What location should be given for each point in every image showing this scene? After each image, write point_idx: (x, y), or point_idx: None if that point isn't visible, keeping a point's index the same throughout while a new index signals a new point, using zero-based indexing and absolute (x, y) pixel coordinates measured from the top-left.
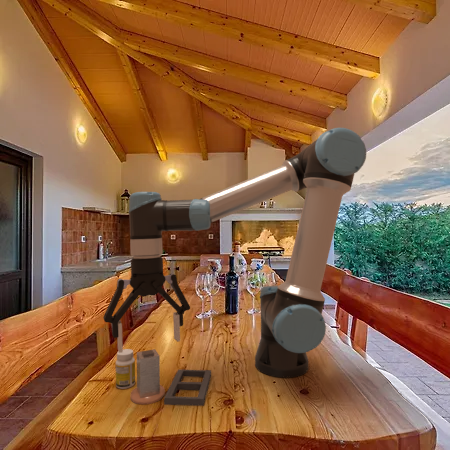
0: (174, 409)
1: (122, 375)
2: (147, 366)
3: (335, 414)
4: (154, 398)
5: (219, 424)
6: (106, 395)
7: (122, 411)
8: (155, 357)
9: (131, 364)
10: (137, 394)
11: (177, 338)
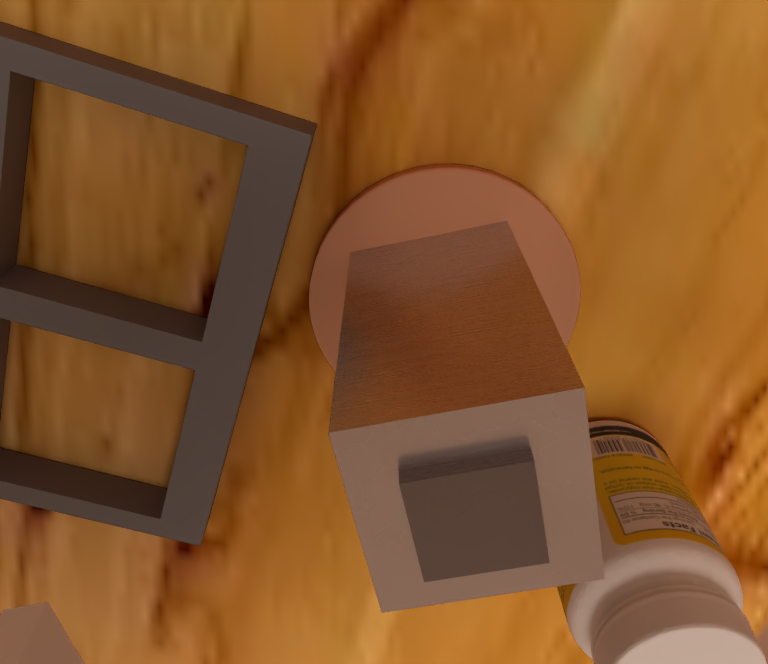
0: (231, 25)
1: (656, 482)
2: (475, 347)
3: None
4: (394, 189)
5: None
6: (741, 364)
7: (647, 107)
8: (381, 415)
9: None
10: None
11: (21, 641)
